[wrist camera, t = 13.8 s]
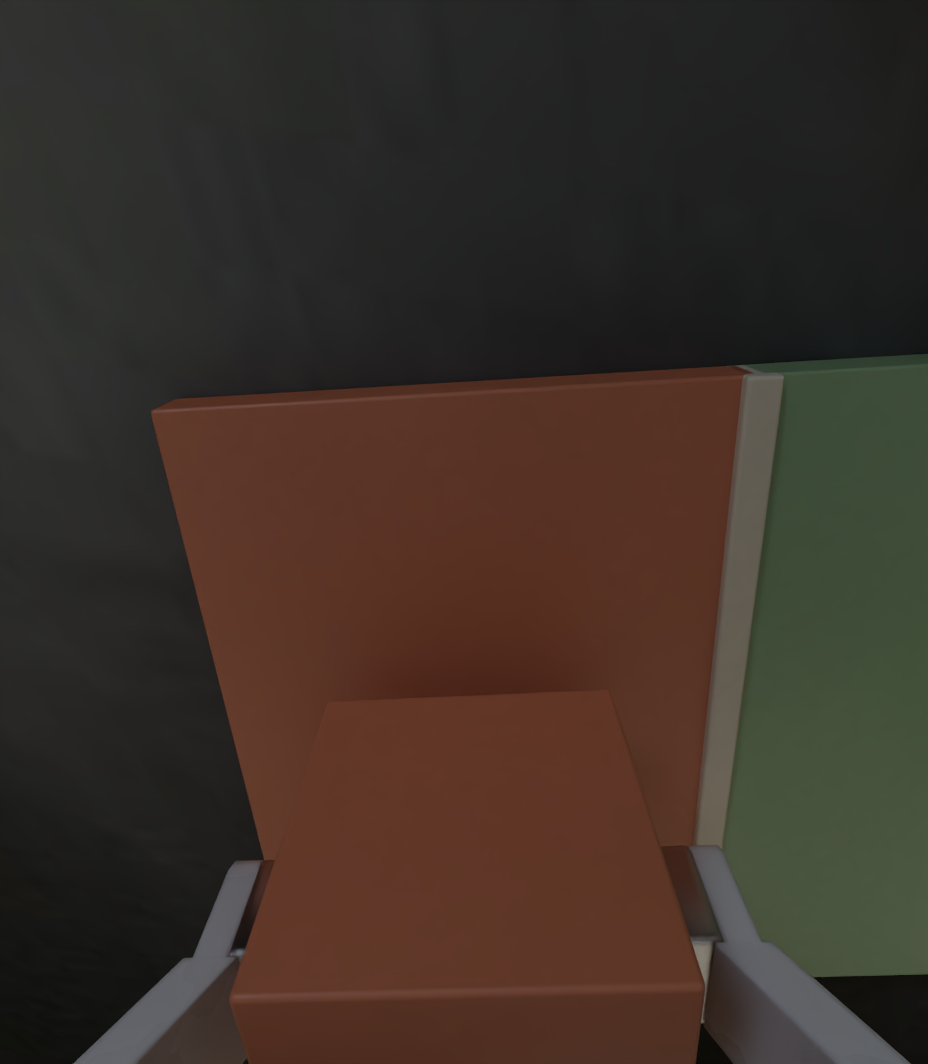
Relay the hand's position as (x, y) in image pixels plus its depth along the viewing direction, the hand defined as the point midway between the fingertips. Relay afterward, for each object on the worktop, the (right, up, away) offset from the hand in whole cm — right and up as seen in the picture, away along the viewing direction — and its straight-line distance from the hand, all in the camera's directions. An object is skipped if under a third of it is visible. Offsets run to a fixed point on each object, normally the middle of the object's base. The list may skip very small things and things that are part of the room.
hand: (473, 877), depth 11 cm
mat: (+5, +2, +3) cm, 6 cm away
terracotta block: (0, +1, +1) cm, 2 cm away
